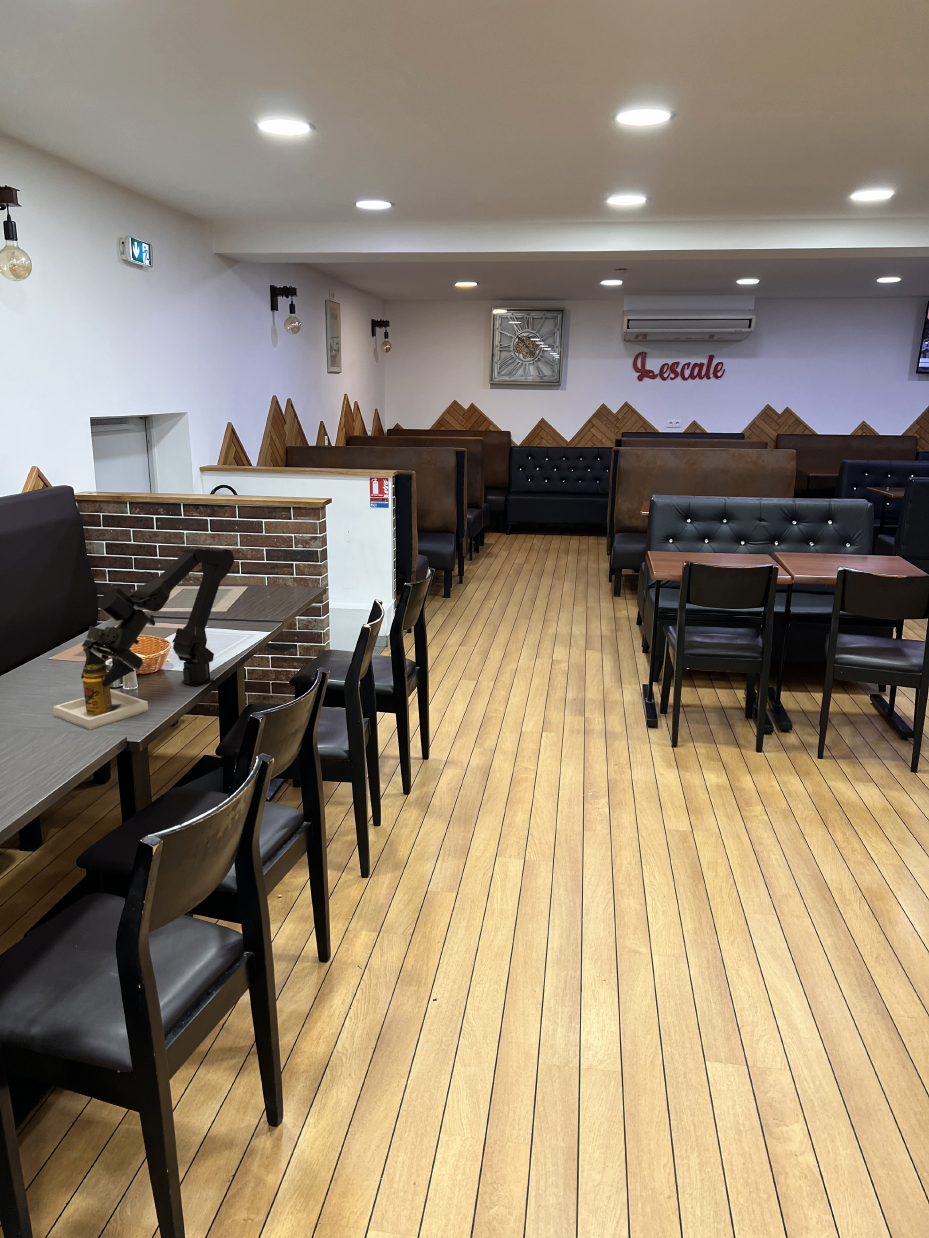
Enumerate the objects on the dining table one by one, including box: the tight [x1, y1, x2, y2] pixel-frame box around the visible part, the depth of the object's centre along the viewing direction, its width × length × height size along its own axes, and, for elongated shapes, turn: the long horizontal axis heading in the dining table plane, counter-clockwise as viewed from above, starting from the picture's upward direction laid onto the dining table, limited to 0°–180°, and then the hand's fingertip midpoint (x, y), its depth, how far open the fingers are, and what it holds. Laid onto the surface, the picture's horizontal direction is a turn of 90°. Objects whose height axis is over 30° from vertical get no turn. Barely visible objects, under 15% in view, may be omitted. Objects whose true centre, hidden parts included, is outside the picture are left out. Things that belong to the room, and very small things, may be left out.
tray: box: [52, 689, 149, 731], centre depth 215 cm, size 16×16×2 cm
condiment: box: [82, 664, 121, 716], centre depth 214 cm, size 7×8×12 cm
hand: (93, 682), depth 212 cm, fingers open, 9 cm apart
